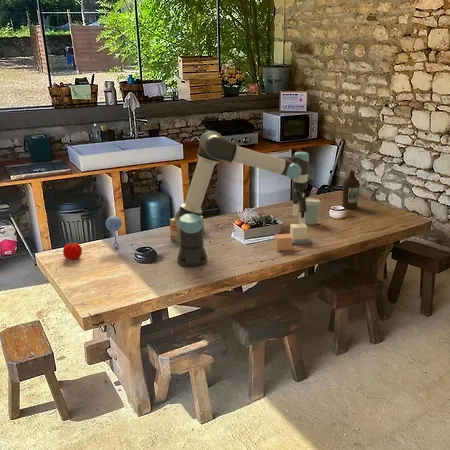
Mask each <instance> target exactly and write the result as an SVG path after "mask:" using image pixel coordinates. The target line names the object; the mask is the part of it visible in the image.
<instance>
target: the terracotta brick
mask: <svg viewBox="0 0 450 450" xmlns="http://www.w3.org/2000/svg"><path fill="white" fill-rule="evenodd" d="M274 248H275V251H277V252H279V251H280V250H283V251H292V250H293V245H292V237H291V235H290V233H282V234H274Z"/></svg>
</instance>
